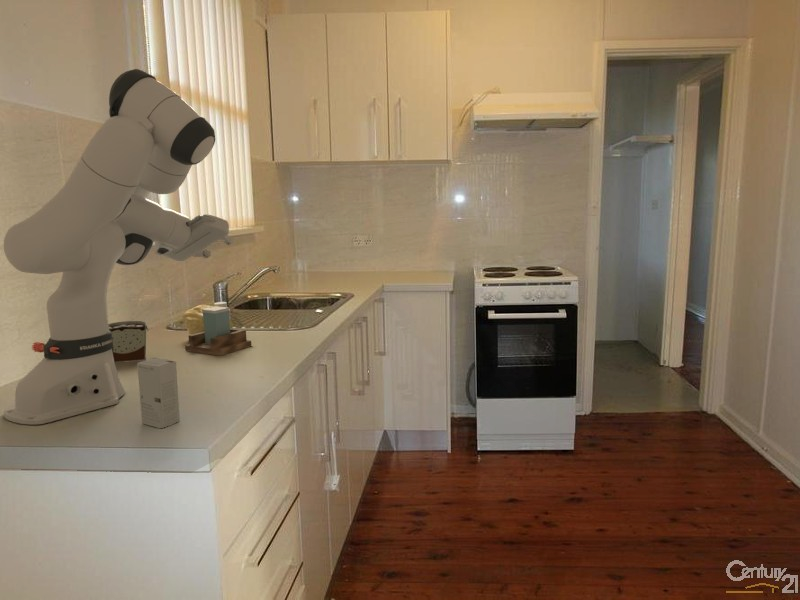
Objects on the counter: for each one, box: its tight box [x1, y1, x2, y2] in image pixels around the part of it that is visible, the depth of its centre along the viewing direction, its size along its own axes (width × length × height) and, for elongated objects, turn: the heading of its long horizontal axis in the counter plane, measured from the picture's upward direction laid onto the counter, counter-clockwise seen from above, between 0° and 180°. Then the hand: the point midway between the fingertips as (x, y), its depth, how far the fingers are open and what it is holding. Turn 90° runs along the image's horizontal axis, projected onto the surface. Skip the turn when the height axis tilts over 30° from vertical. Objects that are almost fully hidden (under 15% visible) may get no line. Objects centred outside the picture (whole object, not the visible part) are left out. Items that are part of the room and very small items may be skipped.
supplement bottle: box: [213, 301, 233, 328], centre depth 183 cm, size 6×6×10 cm
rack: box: [184, 327, 252, 356], centre depth 166 cm, size 12×14×4 cm
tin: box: [202, 306, 230, 345], centre depth 165 cm, size 5×5×10 cm
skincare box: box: [137, 357, 180, 429], centre depth 109 cm, size 6×4×12 cm
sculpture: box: [182, 304, 214, 335], centre depth 177 cm, size 11×12×11 cm
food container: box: [109, 320, 149, 363], centre depth 157 cm, size 12×6×10 cm, turn 104°
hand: (220, 248), depth 157 cm, fingers open, 8 cm apart
